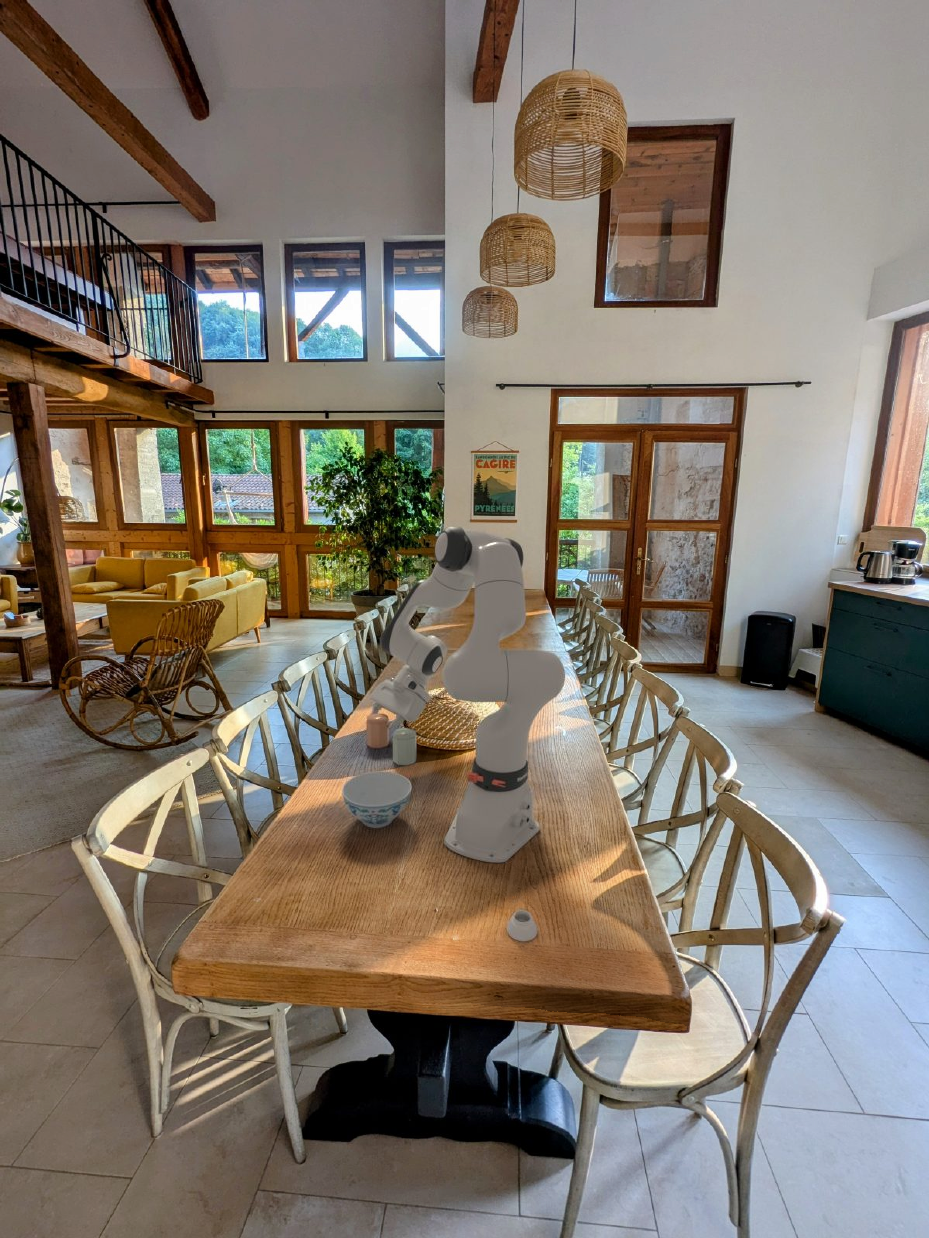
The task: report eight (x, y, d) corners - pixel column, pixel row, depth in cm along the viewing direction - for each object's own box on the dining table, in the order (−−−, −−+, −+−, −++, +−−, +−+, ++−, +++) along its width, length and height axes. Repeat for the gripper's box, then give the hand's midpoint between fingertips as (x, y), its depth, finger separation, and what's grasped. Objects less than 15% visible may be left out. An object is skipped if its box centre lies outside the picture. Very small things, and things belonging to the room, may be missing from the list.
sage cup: (420, 760, 153) (420, 733, 151) (401, 767, 149) (401, 738, 147) (407, 753, 157) (407, 726, 156) (389, 759, 153) (389, 731, 152)
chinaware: (393, 845, 116) (393, 811, 114) (329, 830, 120) (328, 797, 119) (422, 808, 129) (422, 777, 128) (364, 796, 134) (363, 766, 133)
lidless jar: (508, 918, 96) (505, 940, 91) (508, 903, 96) (505, 925, 91) (537, 922, 95) (536, 945, 91) (538, 907, 95) (537, 929, 90)
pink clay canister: (392, 744, 163) (392, 718, 161) (374, 749, 159) (374, 723, 157) (381, 737, 167) (380, 711, 166) (363, 742, 163) (363, 716, 162)
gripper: (382, 670, 173) (355, 707, 168) (422, 688, 157) (393, 729, 153) (394, 681, 176) (368, 718, 172) (434, 699, 161) (406, 740, 157)
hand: (380, 723), depth 163 cm, fingers open, 8 cm apart
